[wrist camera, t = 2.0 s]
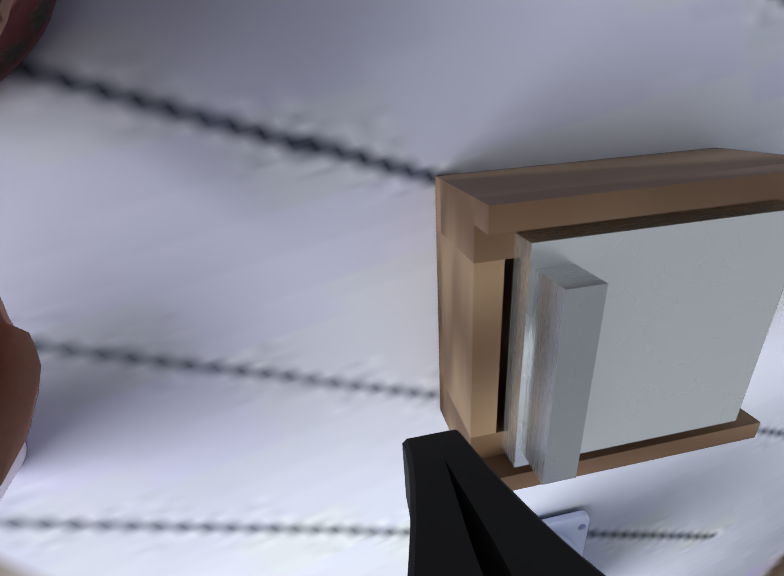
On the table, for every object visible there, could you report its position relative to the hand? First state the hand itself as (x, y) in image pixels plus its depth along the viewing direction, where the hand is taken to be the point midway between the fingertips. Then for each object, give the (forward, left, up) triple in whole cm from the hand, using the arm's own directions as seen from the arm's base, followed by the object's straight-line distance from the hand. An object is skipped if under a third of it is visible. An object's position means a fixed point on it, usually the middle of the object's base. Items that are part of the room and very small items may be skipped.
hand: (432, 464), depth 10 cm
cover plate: (0, -9, -4) cm, 9 cm away
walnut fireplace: (0, -9, -8) cm, 12 cm away
